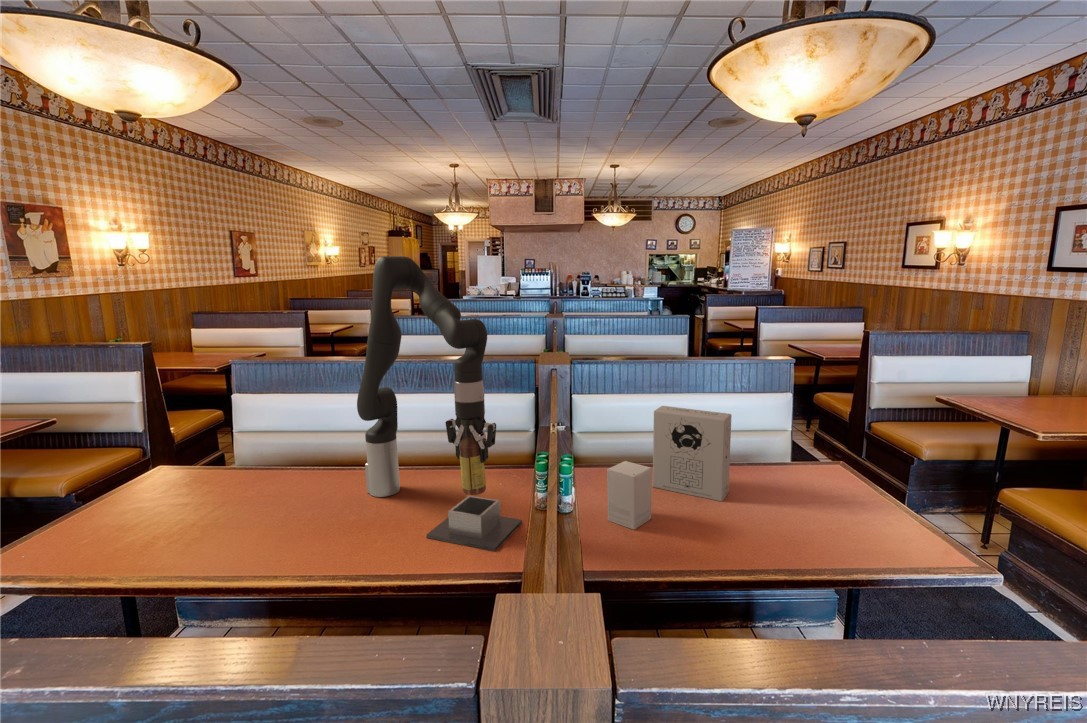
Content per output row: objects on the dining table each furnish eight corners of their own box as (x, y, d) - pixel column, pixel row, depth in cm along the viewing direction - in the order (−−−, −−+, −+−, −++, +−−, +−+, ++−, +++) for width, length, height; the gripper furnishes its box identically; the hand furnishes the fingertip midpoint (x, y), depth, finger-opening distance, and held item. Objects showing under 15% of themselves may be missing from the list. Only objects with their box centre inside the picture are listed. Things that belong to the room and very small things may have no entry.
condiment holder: (426, 537, 139) (425, 512, 138) (458, 512, 153) (457, 489, 152) (495, 551, 131) (494, 525, 130) (522, 523, 146) (521, 499, 145)
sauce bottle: (488, 487, 143) (485, 415, 140) (483, 496, 137) (480, 421, 134) (464, 486, 144) (461, 414, 141) (458, 495, 138) (455, 421, 134)
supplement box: (652, 519, 147) (653, 467, 144) (634, 530, 140) (634, 476, 138) (624, 509, 153) (625, 459, 151) (606, 520, 147) (606, 468, 144)
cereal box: (728, 492, 163) (731, 413, 159) (722, 502, 157) (725, 419, 153) (660, 479, 175) (662, 405, 170) (652, 487, 168) (653, 410, 164)
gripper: (437, 399, 136) (440, 461, 138) (487, 403, 130) (489, 468, 133) (453, 392, 143) (455, 452, 145) (501, 396, 137) (503, 458, 140)
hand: (472, 460), depth 139 cm, fingers closed on sauce bottle, 6 cm apart
